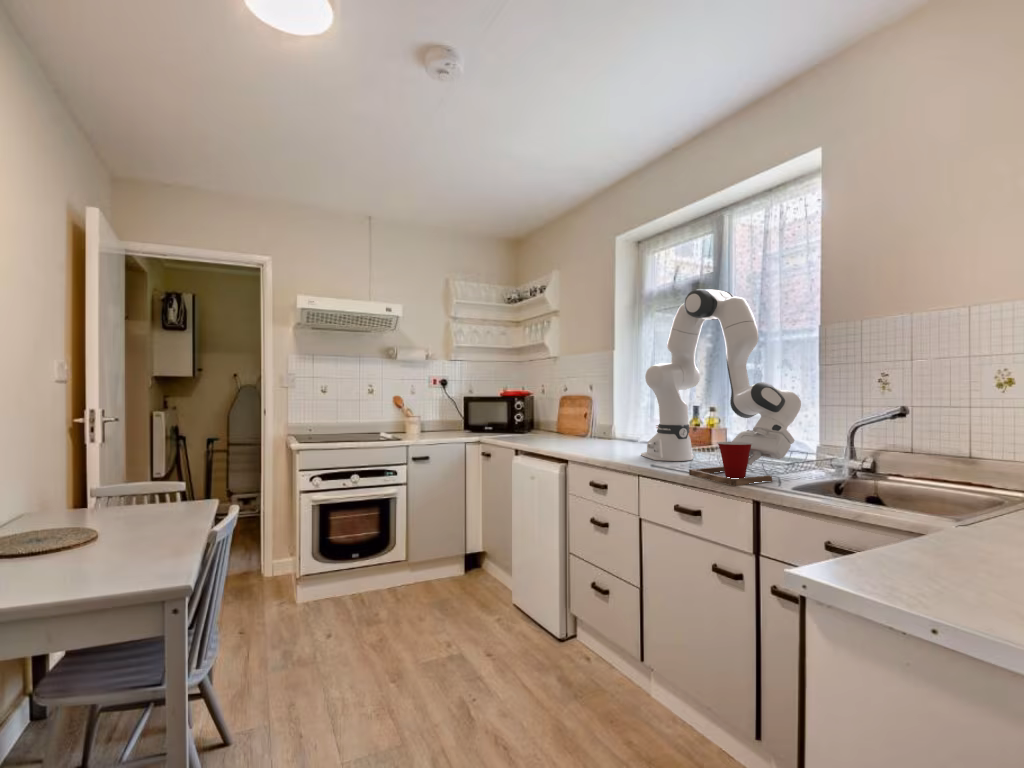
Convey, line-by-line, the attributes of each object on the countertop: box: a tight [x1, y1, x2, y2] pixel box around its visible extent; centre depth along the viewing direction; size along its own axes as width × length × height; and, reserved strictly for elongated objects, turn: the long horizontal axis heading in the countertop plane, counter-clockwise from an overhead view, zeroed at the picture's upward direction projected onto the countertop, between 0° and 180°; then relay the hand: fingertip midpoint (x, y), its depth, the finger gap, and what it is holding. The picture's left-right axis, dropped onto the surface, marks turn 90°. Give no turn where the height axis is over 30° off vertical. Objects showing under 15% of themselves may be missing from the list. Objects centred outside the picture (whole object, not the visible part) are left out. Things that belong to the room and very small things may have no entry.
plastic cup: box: [716, 441, 753, 478], centre depth 164 cm, size 11×11×12 cm
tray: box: [688, 465, 773, 487], centre depth 163 cm, size 20×15×2 cm
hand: (746, 463), depth 165 cm, fingers closed, pressing on plastic cup
